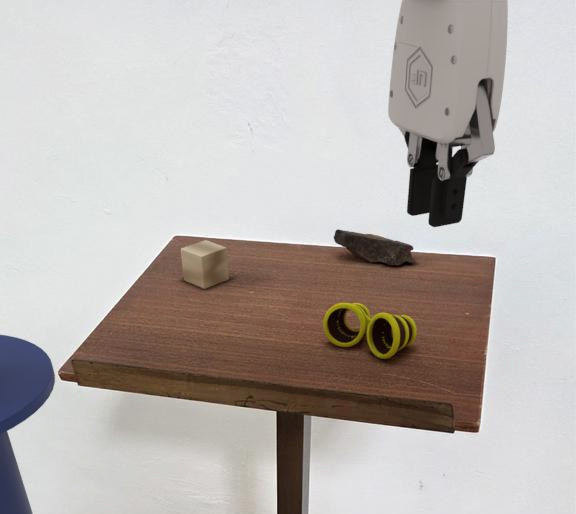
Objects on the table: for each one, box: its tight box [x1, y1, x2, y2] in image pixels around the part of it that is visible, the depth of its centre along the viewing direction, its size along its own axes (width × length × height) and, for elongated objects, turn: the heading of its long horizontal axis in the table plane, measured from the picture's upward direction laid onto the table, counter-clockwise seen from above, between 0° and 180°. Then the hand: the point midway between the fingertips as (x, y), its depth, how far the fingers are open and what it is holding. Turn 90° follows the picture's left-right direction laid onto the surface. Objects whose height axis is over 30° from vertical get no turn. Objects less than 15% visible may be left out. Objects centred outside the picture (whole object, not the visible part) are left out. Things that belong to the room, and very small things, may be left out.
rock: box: [333, 228, 416, 266], centre depth 105 cm, size 12×7×5 cm, turn 57°
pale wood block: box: [180, 239, 230, 290], centre depth 100 cm, size 4×4×4 cm
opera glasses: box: [322, 302, 418, 360], centre depth 84 cm, size 10×5×5 cm, turn 55°
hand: (433, 216), depth 67 cm, fingers closed
